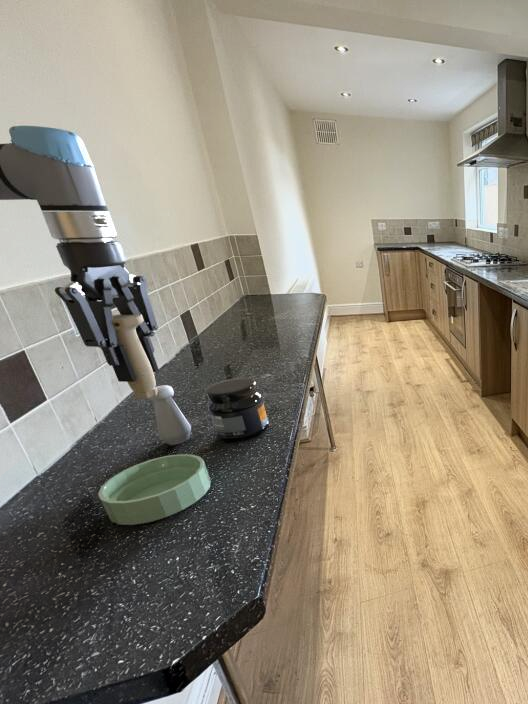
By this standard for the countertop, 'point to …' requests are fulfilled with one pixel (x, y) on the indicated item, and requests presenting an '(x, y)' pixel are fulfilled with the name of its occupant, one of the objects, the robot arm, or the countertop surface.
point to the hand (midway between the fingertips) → (139, 375)
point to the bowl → (155, 489)
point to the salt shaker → (169, 417)
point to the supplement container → (236, 410)
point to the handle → (135, 355)
